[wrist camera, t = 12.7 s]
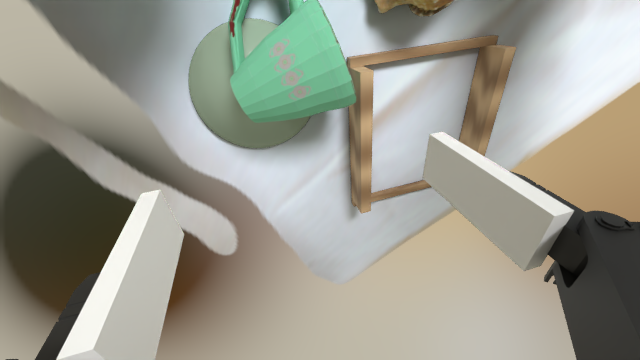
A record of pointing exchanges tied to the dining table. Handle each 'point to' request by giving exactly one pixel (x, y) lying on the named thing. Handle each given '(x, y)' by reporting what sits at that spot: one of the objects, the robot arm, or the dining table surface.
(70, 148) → the dining table surface
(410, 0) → the seashell
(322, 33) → the mug
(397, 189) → the oak frame
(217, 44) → the coaster
